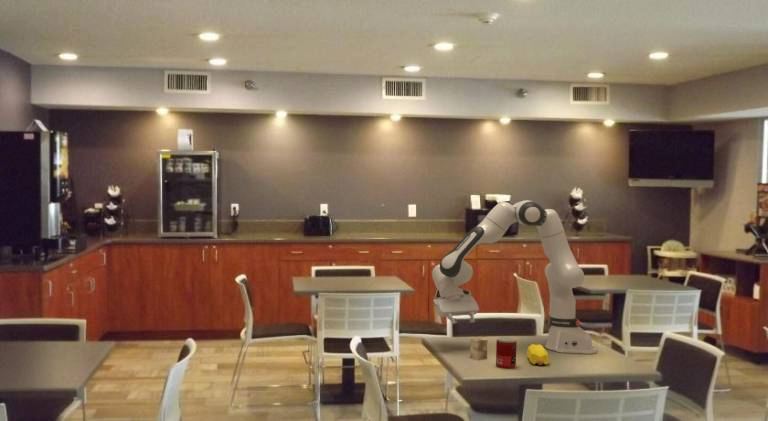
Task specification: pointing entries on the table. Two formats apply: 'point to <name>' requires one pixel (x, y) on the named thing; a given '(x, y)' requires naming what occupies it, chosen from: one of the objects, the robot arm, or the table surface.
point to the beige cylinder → (478, 348)
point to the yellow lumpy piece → (537, 355)
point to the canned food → (506, 352)
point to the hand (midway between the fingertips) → (464, 322)
